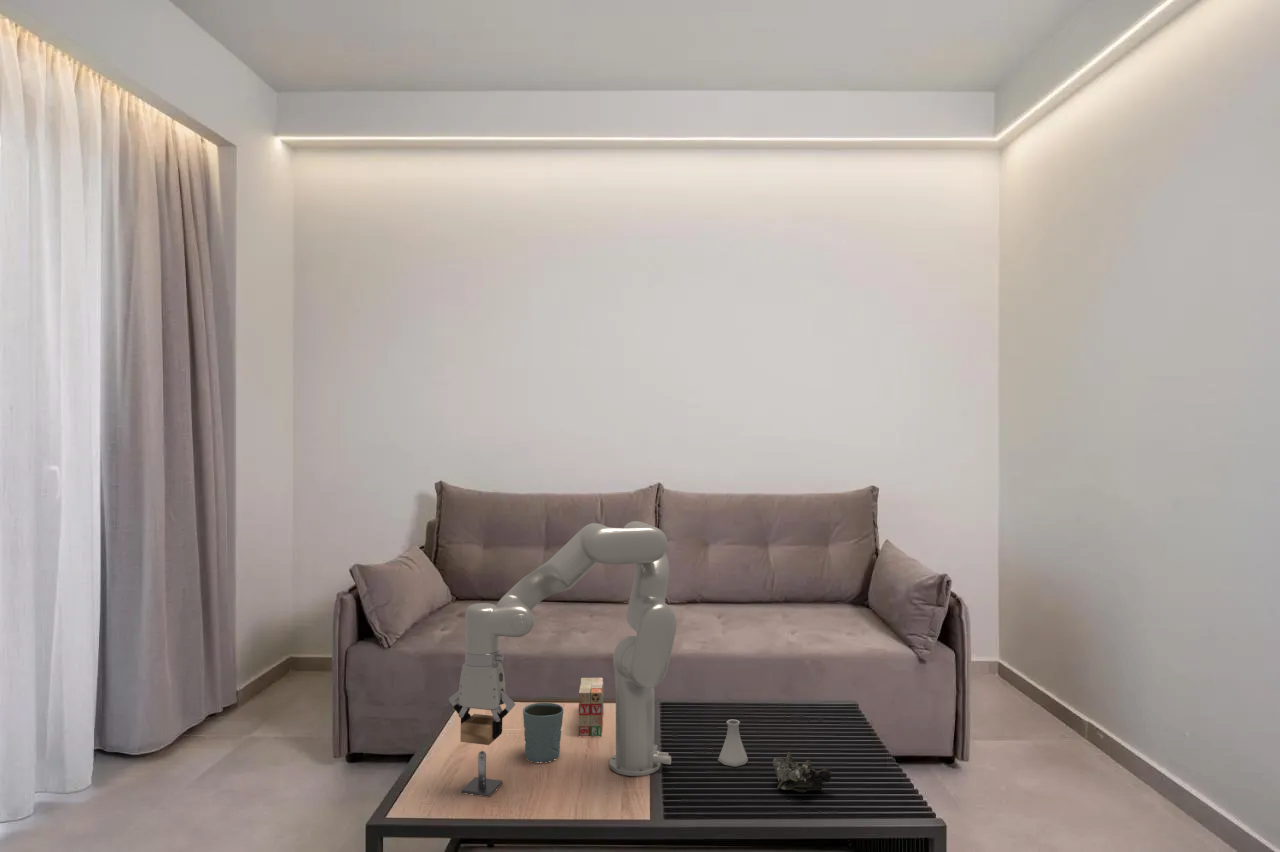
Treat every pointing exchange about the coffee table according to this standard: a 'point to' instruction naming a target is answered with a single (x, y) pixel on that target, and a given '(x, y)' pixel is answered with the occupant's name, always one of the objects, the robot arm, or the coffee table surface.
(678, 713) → the coffee table surface
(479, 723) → the square wooden ring
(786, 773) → the mineral specimen
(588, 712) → the stack of blocks
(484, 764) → the peg stand
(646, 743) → the robot arm
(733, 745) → the flask
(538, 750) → the teal cup
